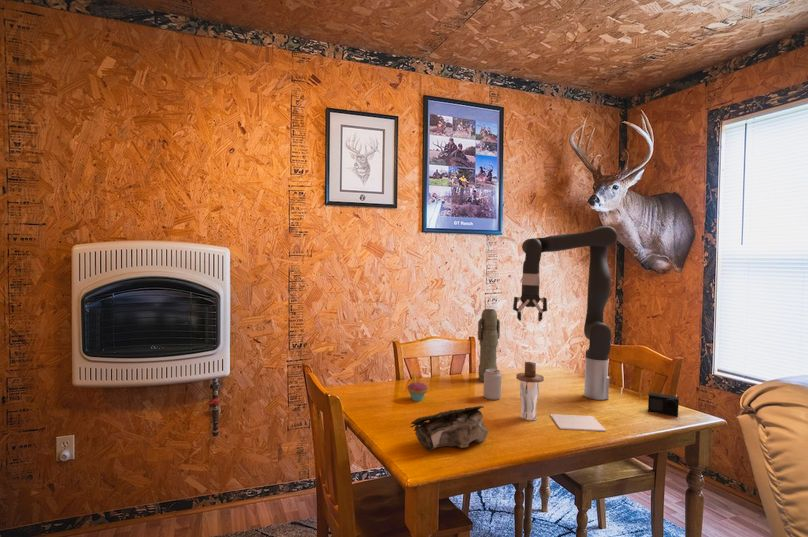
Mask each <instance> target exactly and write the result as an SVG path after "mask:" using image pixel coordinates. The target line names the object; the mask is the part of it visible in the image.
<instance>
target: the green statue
mask: <svg viewBox="0 0 808 537" xmlns="http://www.w3.org/2000/svg"><path fill="white" fill-rule="evenodd" d="M480 316H481V318H480V319H479V320H478V322H477V340H478V341H479V365H478V372H477V374H478V381H480V382H482V383H484V373H485V372H486V370H487V369H497V370H498V367H497V347H498V345H499V344H498V343H499V342H498V341H499V339H500V329H501V328H500V327H501V322H500V320H499V319H498V314H497V311H496V310H495V309H493V308H484V309H483V310H482V313H481V315H480Z"/></svg>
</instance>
